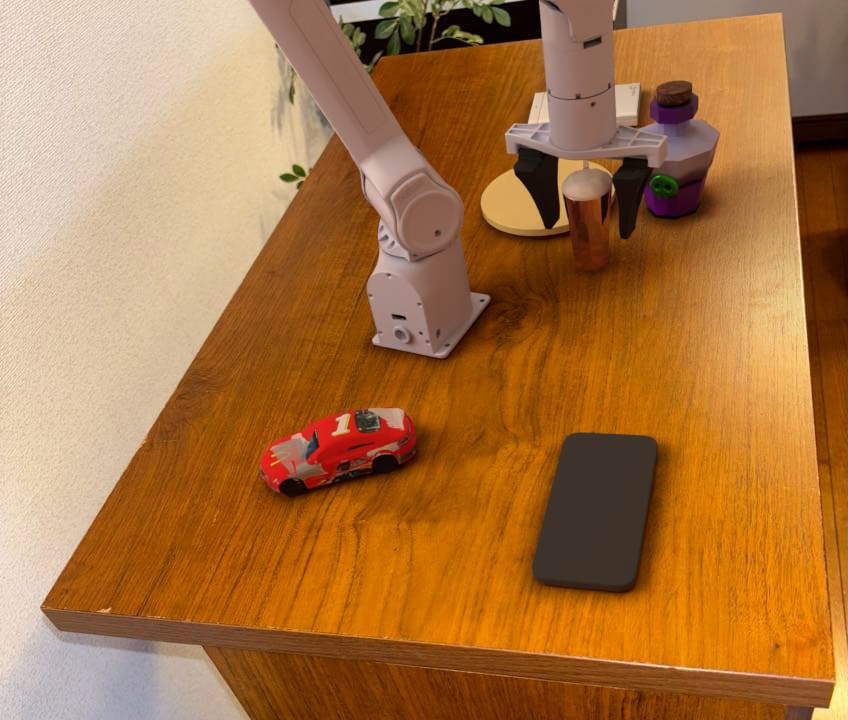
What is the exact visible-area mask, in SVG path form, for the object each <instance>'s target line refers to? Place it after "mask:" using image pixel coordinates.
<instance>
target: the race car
mask: <svg viewBox="0 0 848 720" xmlns="http://www.w3.org/2000/svg"><path fill="white" fill-rule="evenodd" d="M417 449H419V444H418V438H417V432H416V428H415V424H414V423H413V421H412V419H411V417H410V416H409V415H407V413H406V411H405V410H404V409H403V408H401V407H399V406H384V407H371V408H370V407H369V408H361V409H353V410H349V411H348V410H347V411H344V412H339V413H337V414H333V415H329V416H326V417H323V418H321V419H318V420H316V421H314V422H313V421H312V420H309V422H308V426H307V427H306V428H304V429H303V430H300V431H297V432H295V433H292V434H289V435H287V436H284V437H282V438H279V439H278V440H276V441H275V442H273V443H271V444H270V445H269V446H268V447H267V449H266V450H265V452H264V454H263V455H262V457H261V460H260V469H259V470H260V475H261V477H262V480H263V481H264V483H265V484H266V485H267V486H268V488H269V489H271V490H273V491H274V492H276V493H278V494H281V492H282V493H283V494H284V495H287V496H289V497H291V496H292V497H294V496H298V495H300V494H301V493H302V492H303V491H304V489H305V487H306V489H312V488H317V487H321V486H324V485H327V484H332V483H336V482H339V481H340V482H341V481H344V480H347V479H351V478H355V477H361V476H364V475H367V474H371V473H374V469H375V471H377V472H379V473H388V472H391V471H393V469H395V467H396V465H397V463H398V465H401V464H404V463H405V462H407V461H408V460H410V459H411V458H412V457H413V456H415V454H416V453H417ZM373 468H374V469H373Z"/></svg>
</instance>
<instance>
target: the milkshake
mask: <svg viewBox="0 0 848 720" xmlns="http://www.w3.org/2000/svg"><path fill="white" fill-rule="evenodd" d="M588 161H589V160H583V168H584V169H583V170H579V171H575V172H573V173H571V174H570V175H569V176H568V177H567V178H566V179H565V180H564V182H563V184H562V194H563V199H564V204H565V209H566V214H567V219H568V224H569V230H570V231H569V234H570V235H569V236H570V241H571V247H572V254H573V260H574V265H575V267H576V268H577V269H579V270H581V271H583V272H584V271H585V272H593V271H598V270H601V269H604V267H606V266H607V265H608V264H609V260H610V259H609V258H610V256H609V255H610V227H611V225H610V224H611V210H612V205H611V198H612V178H611V176H610V174H608V173H607V172H605V171H602V170H601V169H597V168H594V169H589V163H588Z"/></svg>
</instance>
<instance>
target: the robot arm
mask: <svg viewBox="0 0 848 720" xmlns="http://www.w3.org/2000/svg"><path fill="white" fill-rule="evenodd" d="M246 1H247V3H248V4H249V5H250V7H251V8H252V10H253V12H254V13H255V14H256V16H257V18H258V19H259V20H260V22H261V24H263V25H262V26H264V28H265V29H266V31H267V32H268V34H269V35H270V37H271V38H272V39H273V41H274V42H275V44H276V46H277V47H278V48H279V51H280V52H281V53H282V54H283V56H284V57H285V60H287V62H288V64H289V65H290V67H291V68H292V69H293V71H294V72H295V74H296V76H297V77H298V78H299V80H300V81H301V83H302V84H303V86H304V87H305V88H306V90H307V92H308V93H309V95H310V96H311V98H312V99H313V101H314V102H315V104H316V105H317V107H318V108H319V110H320V111H321V112H322V115H324V117H325V118H326V120H327V121H328V123H329V124H330V126H331V127H332V129H333V131H334V132H335V133H336V134H337V136H338V138H339V139H340V141H341V142H342V144H343V145H344V147H345V149H346V150H347V151H348V153H349V156H350V157H351V159H352V160H353V162H354V164H355V165H356V167H357V168H358V170H359V171H358V172H359V174H360V181H361V190H362V194H363V195H364V198H365V199H366V201H367V202H368V204H369V205H370V206H372V207H373V208H374V209H375V211H376V212H377V213H378V215H379V216H380V219H379V224H378V229H377V231H378V233H377V240H378V244H379V246H378V247H379V248H378V250H379V254H378V259H377V263H376V266H375V267H374V270H373V271H372V273H371V275H370V276H369V278H368V281H367V283H366V295H367V298H368V302H369V306H370V310H371V314H372V317H373V321H374V325H375V330H376V332H377V333H376V334H375V335H374V337H372V339H371V341H372V344H373V345H374V346H378V347H382V348H383V347H384V348H389V349H393V350H398V351H403V352H408V353H412V354H418V355H422V356H426V357H433V358H436V359H445V358H447V357H448V356H449V355H450V353H451V352H452V351H453V350H454V348H455V347H456V346H457V344H458V343H459V342H460V341H461V339H462V338H463V337H464V336H465V334H466V333H467V332H468V330H469V329H470V327H472V325H473V324H474V323H475V321H476V320H477V319H478V318H479V316H480V315H481V314H482V312H483V311H484V310H485V309H486V307H487V306H488V305H489V303H490V302H491V296H490V295H488V294H484V293H480V292H479V293H478V292H473V291H471V288H470V281H469V275H468V271H467V270H468V269H467V264H466V259H465V253H464V247H463V242H462V236H461V230H462V227H463V224H464V219H465V207H464V203H463V200H462V197H461V196H460V194H459V193H458V192H457V191H456V189H455V188H454V187H452V186H451V185H450V184H448V183H447V182H446V181H445V179H444V178H443V177H442V176H441V175H440V174H439V173H438V172H437V171H436V170H435V169H434V167H433V166H432V165H431V164H430V163H429V162H428V161H429V160H428V159H427V158H426V157H425V155H424V153H423V152H422V151H421V149H419V148H418V147H417V146H415V145H413V143H412V142H411V140H410V139H409V138H408V136H407V134H406V133H405V132H404V129H403V128H402V127H401V125H400V123H399V121H398V120H397V118H396V117H395V115H394V114H393V112H392V110H391V109H390V107H389V105H388V104H387V102H386V100H385V99H384V97H383V95H382V93H381V92H380V91H379V89H378V88H377V86H376V84H375V82H374V81H373V79H372V77H371V75H370V74H369V73H368V70H367V69H366V68H365V66H364V65H363V63H362V61H361V59H360V58H359V56H358V54H357V53H356V51H355V49H354V48H353V46H352V45H351V43H350V41H349V40H348V38H347V36H346V35H345V33H344V31H343V30H342V28H341V27H340V25H339V23H338V21H337V20H336V18H335V16H334V15H333V14H332V12H331V10H330V9H329V7H328V6H327V5H328V4H326V2H325V0H246ZM615 3H616V0H538V5H539V15H540V16H539V17H540V28H541V29H540V30H541V43H542V53H543V54H542V55H543V64H544V65H543V66H544V75H545V77H544V78H545V84H546V85H545V88H546V92H547V102H548V113H549V122H543V123H532V124H528V123H513V125H511V127H509V129H508V130H507V131H506V132H505V133H504V138H505V139H504V140H505V146H506V154H508V155H517V160H516V162H515V163H514V164H513V167H512V169H513V168H514V173H515V175H516V177H517V178H518V179H519V180H520V181H521V182H522V183H523V185H524V186H525V187H526V189H527V190H528V192H529V193H530V195H531V197H532V199H533V200H534V202H535V205H536V207H537V209H538V211H539V214H540V216H541V219H542V221H543V224H544V227H545V229H550V230H551V229H552V228H553V226H554V225H555V224H556V223H557V221H558V220H559V219H560V201H559V191H558V160H559V158H562V159H566V160H588V161H590V160H599V159H603V160H611V161H612V160H613V161H622V165H620V166H619V167H618V168H617V170H616V171H615V173H614V174H612V183H613V185H614V188H615V192H616V195H615V197H616V201H617V208H618V233H619V238H620V240H626V241H627V240H629V239H630V238H631V236H632V234H633V233H634V231H635V230H636V226H637V220H638V214H639V210H640V207H641V203H642V199H643V196H644V190H645V188H646V185H647V183H648V180H649V178H650V176H651V174H652V172H653V169H654V168H660V166H661V165H662V164H663V162H664V161H665V159H666V158H667V136H665V135H657V134H652V133H648V132H645V131H641V130H638V129H639V128H635V127H633V126H629V127H628V126H625V125H622V124H619V123H616V99H615V85H616V75H615V73H616V72H615V48H614V47H615V46H614V44H615V43H614V5H615Z"/></svg>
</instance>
